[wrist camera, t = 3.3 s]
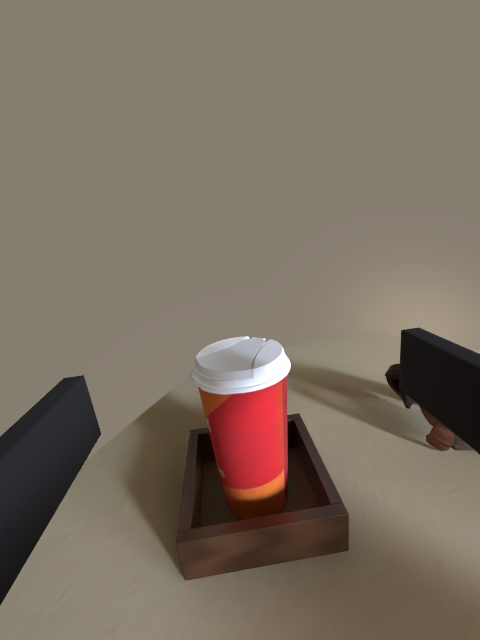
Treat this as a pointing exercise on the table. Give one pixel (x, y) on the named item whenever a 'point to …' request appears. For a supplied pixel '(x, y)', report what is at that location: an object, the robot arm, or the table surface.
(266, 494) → the paper cup
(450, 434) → the pottery mug
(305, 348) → the table surface
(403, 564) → the table surface
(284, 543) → the wooden tray
